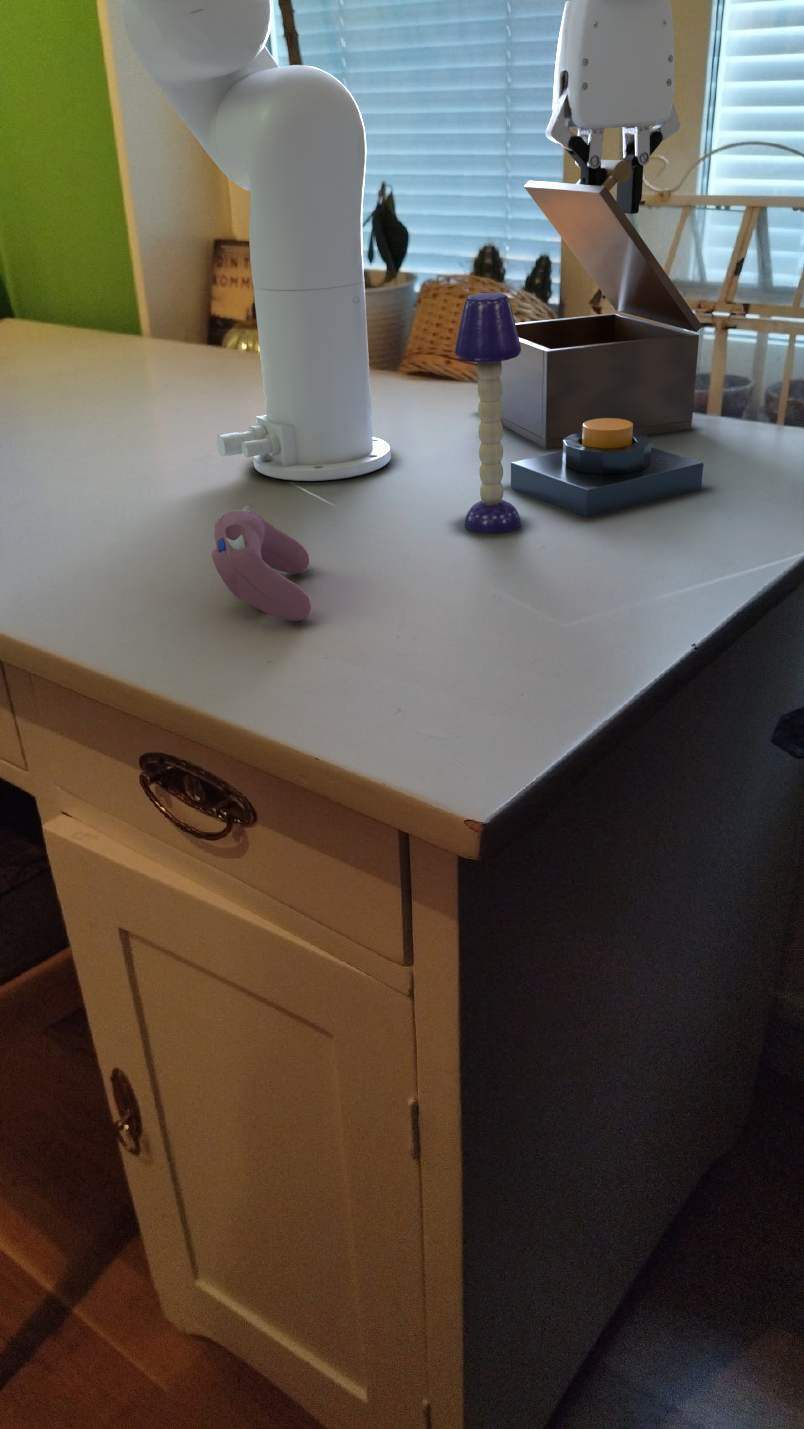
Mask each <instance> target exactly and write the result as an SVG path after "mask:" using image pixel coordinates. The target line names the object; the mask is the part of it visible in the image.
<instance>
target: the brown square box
mask: <svg viewBox="0 0 804 1429" xmlns="http://www.w3.org/2000/svg"><path fill="white" fill-rule="evenodd" d="M515 324H516V328H517V332H518V336H519V340H520V345H521V352H520V354H519V355H518V356H517V357H515V358H512V359H509V360H505V361H501V362H502V372H501V375H500V377H499V378H500V380H501V383H502V395H501V397H500V401H501V403H502V407H503V412H502V417H501V419H500V421H501V423H502V426H503V427H504V428H507V429H509V430H510V431H512V432H514V433H516V434H518V435H520V436H522V437H523V438H524V439H527V440H529V441H531V442H533V443H535V444H536V445H538V446H540V447H542V448H543V449H553V448H559V447H563V440H564V439H565V438H567V437H568V436H570V435H571V434H575V433H580V432H582V430H583V423H584V422H586V421H589V420H593V419H600V418H616V419H624V420H627V421H630V422H632V423H633V432H635V433H639V434H642V435H646V436H649V435H656V434H663V433H671V432H676V431H677V432H678V431H685V430H686V431H687V430H691V429H692V427H693V416H694V415H693V414H694V402H695V392H696V391H695V390H696V379H697V366H698V356H699V341H700V334H698V333H695V332H692V331H688V330H685V329H681V328H677V327H674V326H670V325H666V324H662V323H659V322H655V321H651V320H648V319H644V318H640V317H637V316H633V315H629V314H625V313H622V312H612V313H602V314H592V315H584V316H583V315H582V316H573V317H572V316H571V317H564V318H563V317H561V318H554V319H543V320H533V321H524V322H515Z"/></svg>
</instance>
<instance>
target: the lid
mask: <svg viewBox="0 0 804 1429" xmlns="http://www.w3.org/2000/svg"><path fill="white" fill-rule="evenodd" d="M601 168H605V170H606V181H605V182H604V183H603V184H602V185H601V186H596V185H582V184H580V179H578V181H577V182H576V183H568V182H567V183H566V182H554V181H538V180H528V181H527V182H526V184H525V185H524V186H523V188H524V189H525V191H527V193H528V195H529V196H530V197H531V198H532V200H533V201H534V202H535V204H536V205H537V207H538V208H539V209H540V211H541V212H542V213H543V215H544V216H545V217H546V219H547V220H548V221H549V223H550V224H551V225H552V227H553V228H554V230H555V231H556V232H557V234H558V235H559V236H560V237H561V239H562V240H563V242H564V243H565V244H566V246H567V247H568V248H569V250H570V251H571V252H572V254H573V255H574V256H575V258H576V259H577V260H578V262H579V263H580V265H581V266H582V267H583V269H584V270H585V271H586V273H587V274H588V276H589V277H590V278H591V279H592V280H593V282H594V283H595V285H596V287H597V288H598V289H599V290H600V292H601V293H602V294H603V296H604V297H605V298H606V300H607V301H608V302H609V304H610V305H611V306H612V307H613V309H614V310H615V311H616V312H618V313H622V314H625V315H629V316H633V317H637V318H640V319H644V320H648V321H651V322H655V323H659V324H663V325H666V326H670V327H674V328H678V329H681V330H685V331H689V332H693V333H698V332H699V331H700V330H701V329H702V328H703V324H702V323H701V322H700V320H699V319H698V317H697V315H696V314H695V313H694V311H693V310H692V309H691V307H690V306H689V304H688V303H687V301H686V300H685V298H684V297H683V295H682V294H681V293H680V291H679V289H678V288H677V287H676V286H675V284H674V282H673V281H672V280H671V278H670V277H669V275H668V274H667V272H666V271H665V269H664V268H663V267H662V265H661V264H660V262H659V261H658V259H657V258H656V256H655V255H654V253H652V251H651V249H650V248H649V246H648V244H646V242H645V241H644V240H643V238H642V237H641V235H640V233H639V232H638V230H637V229H636V228H635V226H634V225H633V223H632V222H631V220H630V219H629V217H628V216H627V214H626V213H624V212H623V210H622V209H621V208H620V206H619V205H618V203H617V202H616V199H615V197H614V196H613V195H612V193H611V192H610V191H611V190H612V189H613V188H614V187H615V186H616V185H617V183H624V182H626V181H627V180H628V179H629V178H630V176H631V173H632V168H631V165H630V164H629V162H627V161H624V159H621V160H618V159H601Z"/></svg>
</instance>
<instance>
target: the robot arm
mask: <svg viewBox="0 0 804 1429" xmlns="http://www.w3.org/2000/svg"><path fill="white" fill-rule="evenodd" d="M121 2H122V5H121V8H122V17H123V23H124V27H125V32H126V35H127V37H128V40H129V42H130V44H131V47H132V49H133V51H134V53H135V54H136V57H137V58H138V60H139V62H140V64H141V65H142V67H143V68H144V69H145V71H146V72H147V74H148V75H149V77H150V78H151V80H152V81H153V82H154V83H155V85H156V86H157V88H158V89H159V90H160V92H161V93H162V94H163V96H164V97H165V98H166V100H167V101H168V103H169V104H170V106H171V107H172V108H173V110H174V111H175V113H177V115H178V117H180V119H181V120H182V122H183V123H184V124H185V125H186V127H187V128H188V129H189V131H190V132H191V134H192V135H193V136H194V137H195V139H196V140H197V142H198V143H199V144H200V145H201V147H202V148H203V150H204V151H205V152H206V154H207V155H208V157H210V159H211V160H212V161H213V162H214V164H215V165H216V166H217V167H218V168H219V170H220V171H221V172H222V173H223V174H224V175H225V176H226V177H227V178H228V179H229V180H230V181H231V182H232V183H234V184H235V185H237V186H238V187H240V189H243V190H245V191H247V192H249V218H248V220H249V221H248V222H249V223H248V233H249V234H248V236H249V239H248V240H249V243H248V244H249V260H250V272H251V281H252V287H253V296H254V297H253V298H254V307H255V316H256V317H255V318H256V327H257V338H258V348H259V358H260V368H261V376H262V377H261V378H262V387H263V396H264V397H263V399H264V407H265V414H261V415H256V416H255V422H256V424H255V425H252V426H249V427H248V430H247V431H242V432H238V431H236V432H230V433H229V432H228V433H224V434H218V435H217V436H216V447H217V450H218V453H219V455H220V457H222V458H226V457H231V456H237V455H241V454H242V455H243V457H244V458H246V459H247V458H251V457H253V458H252V459H253V466H254V469H255V470H256V471H257V472H258V473H259V474H262V475H264V476H266V477H270V478H274V479H279V480H285V481H287V480H288V481H297V482H298V481H300V482H301V481H303V482H305V481H306V482H315V481H317V482H318V481H330V480H331V481H334V480H342V479H348V478H353V477H358V476H362V475H366V474H370V473H372V472H375V471H377V470H379V469H381V468H383V467H385V466H386V465H387V464H388V463H390V461H391V458H392V455H391V454H392V453H391V446H390V445H389V443H388V442H386V441H384V440H383V439H380V438H377V437H375V436H374V433H373V432H374V430H373V414H372V413H373V412H372V396H371V394H372V393H371V378H370V376H371V375H370V359H369V356H370V355H369V339H368V322H367V320H368V319H367V303H366V302H367V300H366V285H365V284H366V282H365V274H364V273H365V272H364V270H365V269H364V251H363V204H364V190H365V189H364V188H365V178H366V167H367V139H366V138H367V137H366V130H365V125H364V121H363V117H362V114H361V111H360V109H359V106H358V104H357V103H356V100H355V98H354V96H353V95H352V94H351V92H350V90H348V88H347V87H346V86H345V85H344V84H343V82H341V81H340V80H339V79H338V78H336V77H335V76H333V75H332V74H331V73H329V72H327V71H325V70H323V69H320V68H317V67H315V66H311V65H306V64H291V65H284V66H280V65H279V64H278V63H277V61H276V60H275V58H274V57H273V56H272V53H271V52H270V51H269V49H268V48H267V45H266V43H267V41H268V38H269V35H270V33H271V28H272V19H273V11H272V2H271V0H122V1H121ZM559 29H560V30H559V36H558V41H557V50H556V58H555V67H554V80H553V95H552V97H553V98H552V115H551V117H550V120H549V123H548V125H547V127H546V130H545V137H546V138H547V139H548V140H550V141H552V142H553V143H554V144H556V145H558V146H559V147H562V148H564V149H565V151H566V152H567V153H568V155H570V157H571V158H572V159H573V160H574V163H575V166H576V168H579V169H580V175H579V176H580V178H579V180H580V184H582V185H596V186H601V185H602V184H603V183H604V182H605V181H606V170H605V168H601V160H602V154H603V146H604V137H605V129H619V128H622V151H623V160H624V161H627V162H629V164H630V165H631V168H632V173H631V176H630V178H629V179H628V180H627V181H626V182H624V183H616V196H615V197H616V199H615V200H616V202H617V203H618V205H619V206H620V208H621V209H622V210H623V212H624V213H625V214H629V215H634V214H638V213H639V211H640V203H641V201H642V197H643V182H644V166H646V165H647V164H648V163H649V162H650V160H651V156H652V155H653V154H654V152H655V151H656V150H657V149H658V147H659V146H660V144H661V143H662V142H663V141H665V140H667V139H669V138H670V137H671V136H673V135H674V134H676V133H677V132H678V131H679V130H680V128H681V122H680V119H679V116H678V114H677V110H676V107H675V105H674V95H675V94H674V93H675V90H674V89H675V35H674V34H675V33H674V32H675V31H674V20H673V12H672V4H671V0H566V1H565V4H564V8H563V12H562V18H561V23H560V28H559ZM650 126H653V127H652V128H651V129H650ZM571 130H577V134H575V133H574V132H573V131H571Z"/></svg>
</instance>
